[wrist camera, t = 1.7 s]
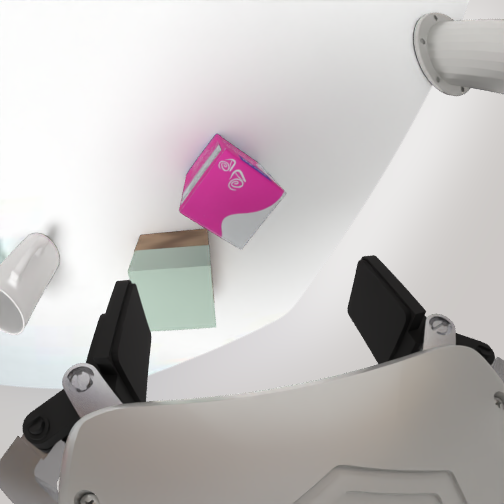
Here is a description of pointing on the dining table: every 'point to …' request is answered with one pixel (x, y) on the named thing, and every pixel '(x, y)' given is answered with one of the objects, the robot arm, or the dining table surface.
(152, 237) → the walnut base block
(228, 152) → the supplement box
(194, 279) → the sage top block
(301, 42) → the dining table surface
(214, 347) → the dining table surface
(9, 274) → the mug
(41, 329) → the dining table surface
